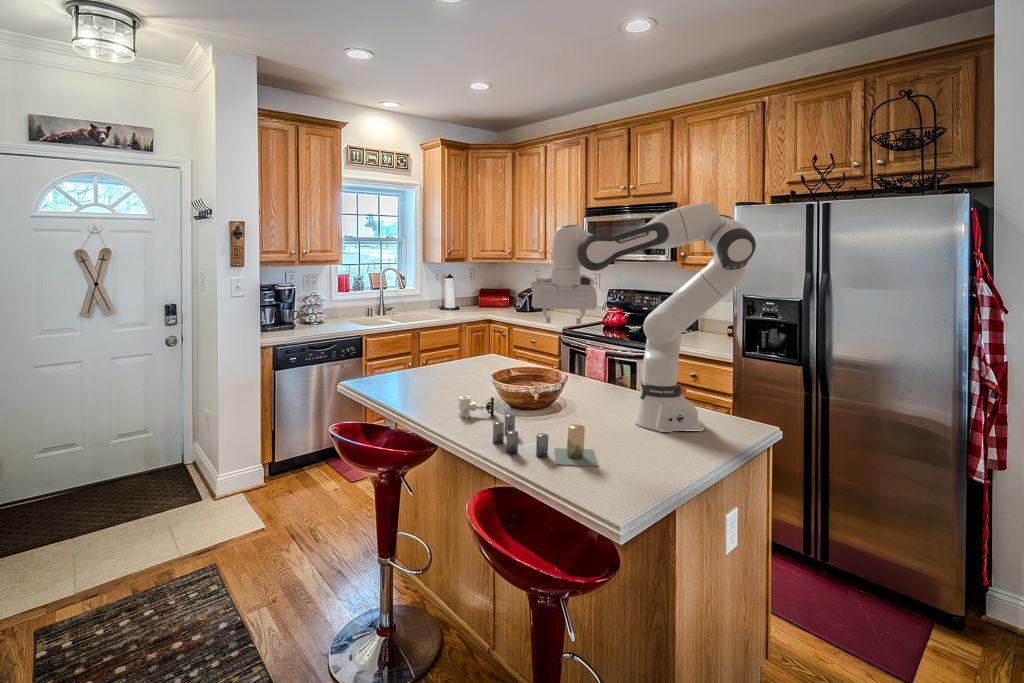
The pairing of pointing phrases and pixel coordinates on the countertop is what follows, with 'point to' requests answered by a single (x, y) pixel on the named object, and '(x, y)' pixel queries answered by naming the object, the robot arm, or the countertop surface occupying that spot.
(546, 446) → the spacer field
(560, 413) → the countertop surface
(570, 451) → the gold metal cylinder
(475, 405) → the valve
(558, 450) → the mat
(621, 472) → the countertop surface
